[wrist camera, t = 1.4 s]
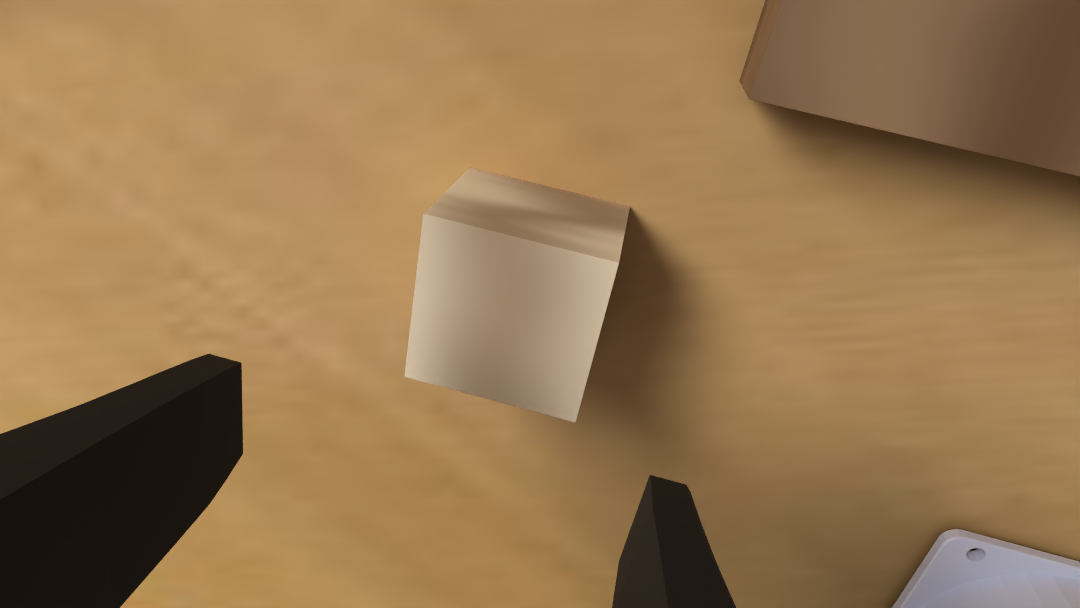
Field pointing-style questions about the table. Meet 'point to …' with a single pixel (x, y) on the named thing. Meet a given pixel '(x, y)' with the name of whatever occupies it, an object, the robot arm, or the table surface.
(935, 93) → the plinth
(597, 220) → the block
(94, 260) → the table surface
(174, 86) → the table surface
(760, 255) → the table surface
